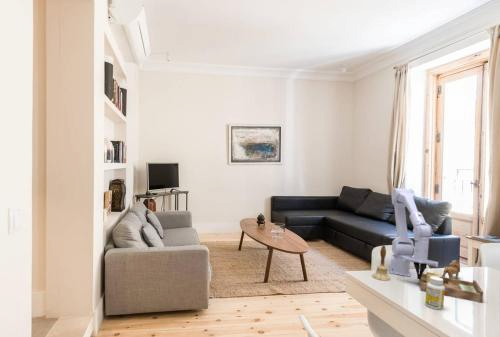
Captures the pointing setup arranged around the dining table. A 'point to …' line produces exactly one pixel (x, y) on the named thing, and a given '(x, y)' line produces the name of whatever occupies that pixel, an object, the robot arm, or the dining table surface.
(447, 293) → the walnut lane
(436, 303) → the supplement bottle
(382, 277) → the hand bell
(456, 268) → the lion figurine
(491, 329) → the dining table surface
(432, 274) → the ochre block
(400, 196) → the robot arm
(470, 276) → the dining table surface
